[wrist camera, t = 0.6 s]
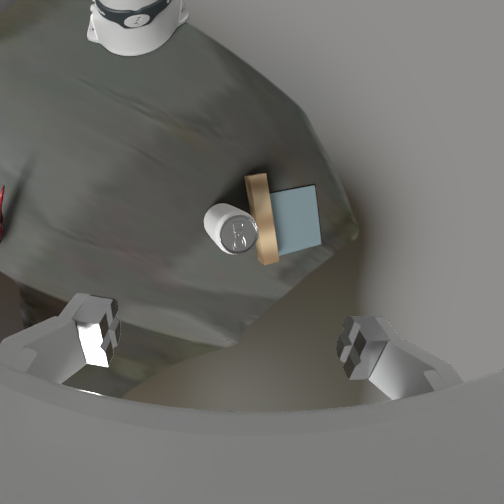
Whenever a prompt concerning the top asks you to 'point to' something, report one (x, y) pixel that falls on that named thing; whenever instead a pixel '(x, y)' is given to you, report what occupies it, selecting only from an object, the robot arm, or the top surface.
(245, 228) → the can
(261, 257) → the oak rail
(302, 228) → the felt mat
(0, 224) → the decorative bird figurine
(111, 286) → the top surface
